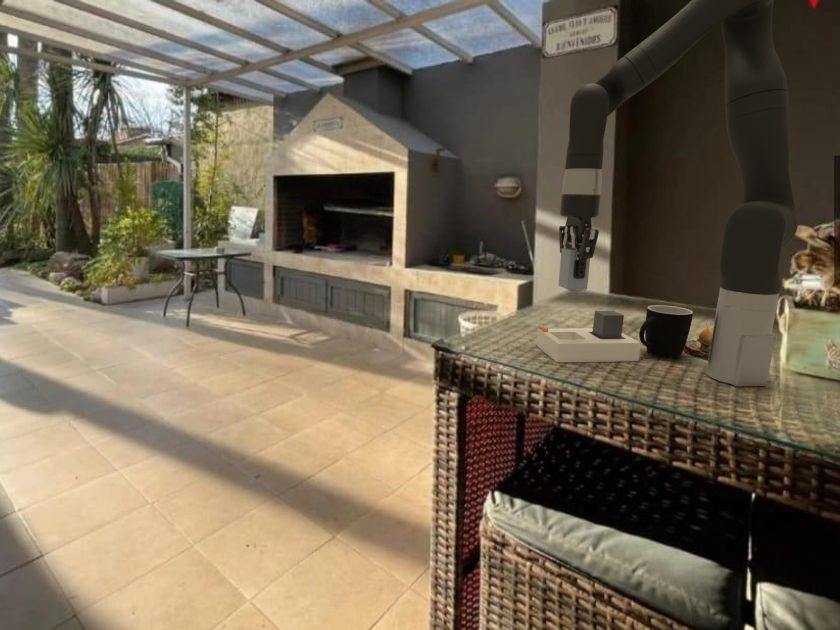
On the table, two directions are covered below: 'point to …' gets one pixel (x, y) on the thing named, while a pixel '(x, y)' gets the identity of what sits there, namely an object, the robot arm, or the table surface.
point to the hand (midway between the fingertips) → (573, 276)
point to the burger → (700, 345)
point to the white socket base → (590, 341)
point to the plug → (571, 271)
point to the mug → (666, 330)
